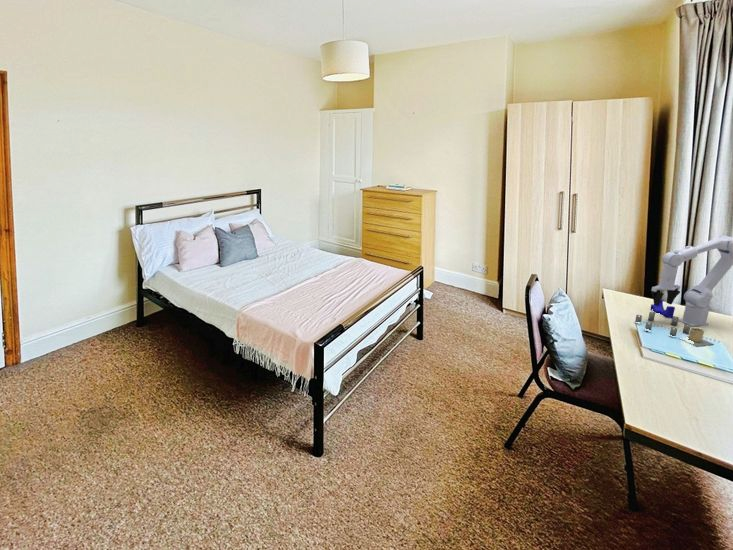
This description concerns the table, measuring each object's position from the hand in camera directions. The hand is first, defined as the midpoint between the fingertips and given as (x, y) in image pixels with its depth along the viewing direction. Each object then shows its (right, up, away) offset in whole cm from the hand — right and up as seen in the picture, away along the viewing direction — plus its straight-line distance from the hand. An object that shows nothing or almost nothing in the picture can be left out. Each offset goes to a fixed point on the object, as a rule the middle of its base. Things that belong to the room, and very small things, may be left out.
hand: (662, 304), depth 206 cm
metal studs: (-4, -11, -4) cm, 12 cm away
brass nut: (+2, -15, -18) cm, 23 cm away
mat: (+2, -15, -18) cm, 24 cm away
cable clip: (+9, -6, +14) cm, 17 cm away
